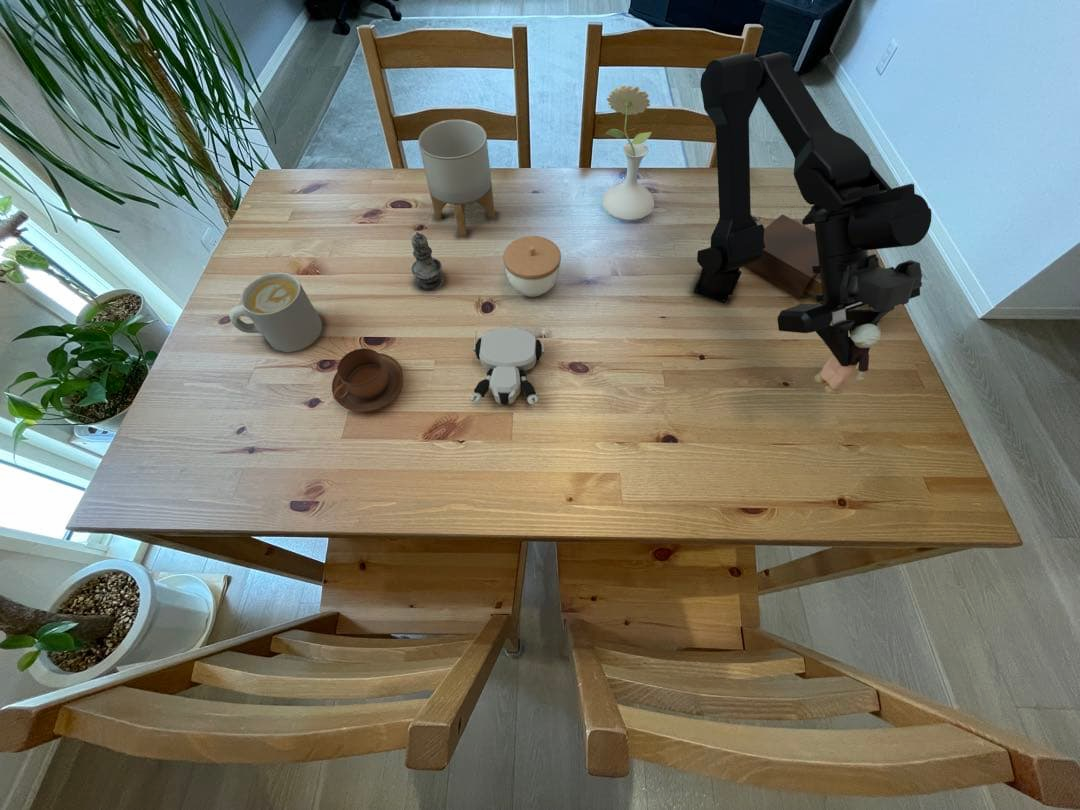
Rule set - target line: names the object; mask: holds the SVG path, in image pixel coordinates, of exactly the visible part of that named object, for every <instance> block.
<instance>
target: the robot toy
mask: <svg viewBox="0 0 1080 810" xmlns="http://www.w3.org/2000/svg"><path fill="white" fill-rule="evenodd" d="M477 333H478V329H477V328H475V329H474V342H473V346H472V347H473V348H472V350H473V351H474V353H475V356H476V358H477V360H478V361H480V362H481V363H480V364H481V365H482V367H484V368H485V369H487V370H488V371H487V372H486V378H484V379H481V380H480V381H479V382H478V383H477V385H476V386H475V388H474V389H473V392H474V393H472V394H471V395H470V398H469V399H470V401H471V402H474V403H475V404H479V403H480V401H482V398H485V396H486V395H487V393H488V391H489V389H490V391H491V394H492V395H493V397H494V399H495V402H496V403H497V404H500V405H502V406H507V405H511V404H513V403H515V401H516V399H517V397H519V395H520V394H521V391H522V392H523V395H524V397H525V398H526V400H527V403H528V404H529V405H531V406H533V405H535V404H538V402H539V397H538V396H537V395H536V394H537V392H536V390H535V387H534V386H533V383H532V382H530V381H529V380H527V378H526V377H527V374H526V372H525V371H528V370H530V369H533V368H534V367H535V365H536V363H537V362H539V361H540V359H541V357H542V354H545V353H544V352H545V348H544V346H545V345H544V344H545V329H542V343H541V340H540V339H538V337H537V336H536V334H535V333H533V332H532V331H531V330H529V329H524V328H521V327H513V326H506V327H496V328H492V329H489V330H487V331H485V332H483V334H482V335H481V337H479V338H477Z"/></svg>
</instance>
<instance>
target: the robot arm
mask: <svg viewBox="0 0 1080 810" xmlns="http://www.w3.org/2000/svg"><path fill="white" fill-rule="evenodd" d="M699 86H700V91H701V96H702V102H703V109H704V111H705V113H706V114H707V116H708V117H709V118H710V120H711V121H712V123H713V125H714V127H715V144H716V147H715V149H716V167H717V188H718V189H717V190H718V191H717V192H718V213H719V219H718V221H717V223H716V225H715V227H714V229H713V231H712V233H711V236H710V247H706V248H703V249H700V250H697V255H696V256H697V257H696V262H697V263H698V265H699V266H700V268H701V272H700V274H699V278H698V280H697V282H696V284H695V287H694V289H693V291H692V292H693V294H696V295H698V296H700V297H701V296H702V297H704V298H707V299H710V300H713V301H715V302H716V301H717V302H720V303H722V304H726V303H727V302H728V299H729V297H730V296H733V295H734V291H735V290H736V287H737V284H738V282H739V280H740V278H741V276H742V272H743V271H742V270H740V269H741V268H746V267H745V266H748V265H751V264H754V263H756V262H757V261H758V260H759V258H761V257H762V253H763V249H764V248H765V244H764V229H765V226H764V224H762V223H760V224H758V223H757V221H756V220H755V218H754V217H753V215H752V212H751V211H752V207H751V206H752V205H751V203H752V202H751V156H750V153H751V152H750V118H751V116H752V113H753V112H754V110H755V107H756V105H757V103H758V100H760V102H761V103H762V104H763V106H764V108H765V110H766V111H767V113H768V114H769V116H770V117H771V120H772V121H773V123H774V124H775V126H776V128H777V130H778V132H779V133H780V134H781V137H783V139H784V141H785V143H786V144H787V146H788V148H789V149H790V151H791V153H792V155H793V157H794V165H793V166H794V167H793V178H794V181H795V182H796V184H797V187H798V189H799V192H800V195H801V197H802V198H803V200H804V201H805V203H806V204H808V205H810V206H811V207H810V210H809V212H808V213H807V214H806V215H805V216H804V217H803V219H802V220H801V224H802V225H804V226H808V225H812V224H813V225H814V231H815V233H816V242H817V250H818V257H819V258H818V259H819V264H818V265H815V266H812V268H813V273H820V276H821V285H822V293H821V294H818V295H816V297H815V300H816V301H815V302H816V303H815V304H814V303H813V304H812V303H801V304H797V305H795V306H792V307H788V308H786V309H783V310H780V312H779V314H778V316H777V327H778V331H779V332H787V333H797V334H798V333H801V334H809V333H811V334H812V333H814V332H815V333H816V334H817V335H818V336H819V338H820V339H821V340H822V341H823V342H825V343H826V345H827V346H826V345H825V346H826V347H827V348H828V349H829V350H830V352H831V353H832V356H833V355H834V356H835V357H836V359H837V360H838V362H839V363H840V364H841V366H845V367H847V366H849V362H850V352H849V337H850V336H849V335H851V331H854V329H855V328H857V327H858V326H860V325H864V324H874V325H875V326H877V327H878V325H879V322H880V321H881V319H883V318H884V317H885V316H886V315H887V314H888V313H890V312H892V311H893V310H894V309H895V307H897V306H900V305H902V306H903V305H907V304H908V303H910V299H914V298H917V297H920V296H921V287H922V286H923V282H922V278H923V273H922V269H921V268H922V266H921V263H920V262H919V261H915V260H912V259H909V260H906V261H902V262H900V263H898V264H897V265H896V266H895V267H894V266H890V267H888V268H885V267H882V266H880V263H879V262H880V261H879V257H878V256H877V254H876V253H870V254H869V251H873V250H874V251H875V250H881V249H882V250H884V249H893V248H902V247H912V246H915V245H916V244H918V243H920V242H921V241H922V240H924V238H925V237H926V235H927V234H928V232H929V230H930V227H931V223H932V208H931V207H929V205H928V202H927V201H926V200H925V198H924V197H923V196H922V195H920V194H917V193H916V192H915V191H916V190H915V184H914V183H912V182H911V183H908V184H907V183H906V184H902V185H899V186H897V187H893V188H892V187H891V186H890V185H889V183H888V182H887V181H886V180H885V179H884V178H883V177H882V175H880V174H879V171H877V170H876V169H875V168H874V166H873V165H872V162H871V158H869V155H868V154H867V152H865V150H863V149H862V148H861V146H859V145H858V143H856V142H855V140H854V139H853V138H851V137H849V136H847V135H844V134H842V133H840V132H837V130H835V129H834V128H833V127H832V126H831V125H830V124H829V122H828V120H827V119H826V117H825V116H824V114H823V113H822V111H821V109H820V108H819V106H818V104H817V103H816V101H815V100H814V98H813V97H812V95H811V94H810V92H809V90H808V89H807V87H806V86H805V84H804V83H803V81H802V80H801V78H800V76H799V75H798V73H797V71H796V70H795V68H794V63H793V58H792V56H791V55H790V54H789V53H786V52H783V51H779V52H774V53H770V54H765V55H761V56H758V57H757V56H756V55H755V54H754V53H753V52H743V53H739V54H735V55H729V56H724V57H721V58H716V59H712V60H711V61H709V62H708V64H707V65H706V67H705V70H704V71H703V72H702V73H701V77H700V84H699ZM817 303H818V304H817ZM820 303H823V304H820ZM840 305H843V306H840ZM838 306H840V307H838ZM848 336H849V337H848ZM825 343H824V344H825ZM870 349H871V347H868V348H866V350H867V352H868V354H870V353H869V352H870Z"/></svg>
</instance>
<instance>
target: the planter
mask: <svg viewBox="0 0 1080 810" xmlns="http://www.w3.org/2000/svg"><path fill="white" fill-rule="evenodd" d="M487 138H488V137H487V132H486V130H485V129H484V127H482V126H481V125H479V123H476V122H475V121H474V122H473V121H470V120H467V119H446V120H442V121H438V122H436V123H433V124H431V125H429V126H427V127H426V128H424V129H423V130H422V131H421V133H420V134H419V137H418V140H417V141H418V148H419V151H420V156H421V161H422V165H423V169H424V174H425V178H426V182H427V187H428V190H429V195H430V200H431V203H432V208H433V213H434V218H435V220H442V218H443V209H444V208H445V206H446V205H452V206H453V211H454V216H455V221H456V228H457V232H458V237H467V224H466V205H469V204H472V203H474V202H475V203H476V204H478V205H480V206H481V207H482V208H483V209H484V210H485V212H486V214H487V216H488V220H495V218H496V210H495V202H494V201H495V200H494V192H493V183H492V174H491V165H490V156H489V147H488V139H487Z"/></svg>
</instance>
